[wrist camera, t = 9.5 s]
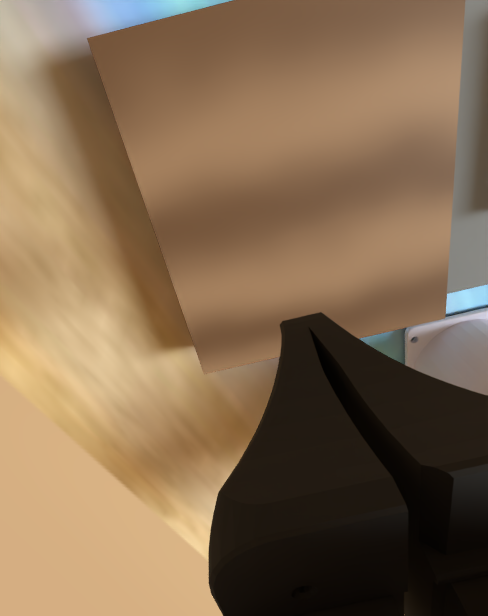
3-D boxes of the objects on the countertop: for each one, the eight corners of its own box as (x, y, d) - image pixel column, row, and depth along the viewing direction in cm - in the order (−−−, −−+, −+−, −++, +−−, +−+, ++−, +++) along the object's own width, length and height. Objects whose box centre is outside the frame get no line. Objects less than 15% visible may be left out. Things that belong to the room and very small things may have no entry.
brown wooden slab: (418, 294, 23) (445, 318, 21) (204, 344, 24) (204, 374, 21) (425, -33, 16) (469, -61, 13) (106, 49, 16) (86, 38, 13)
